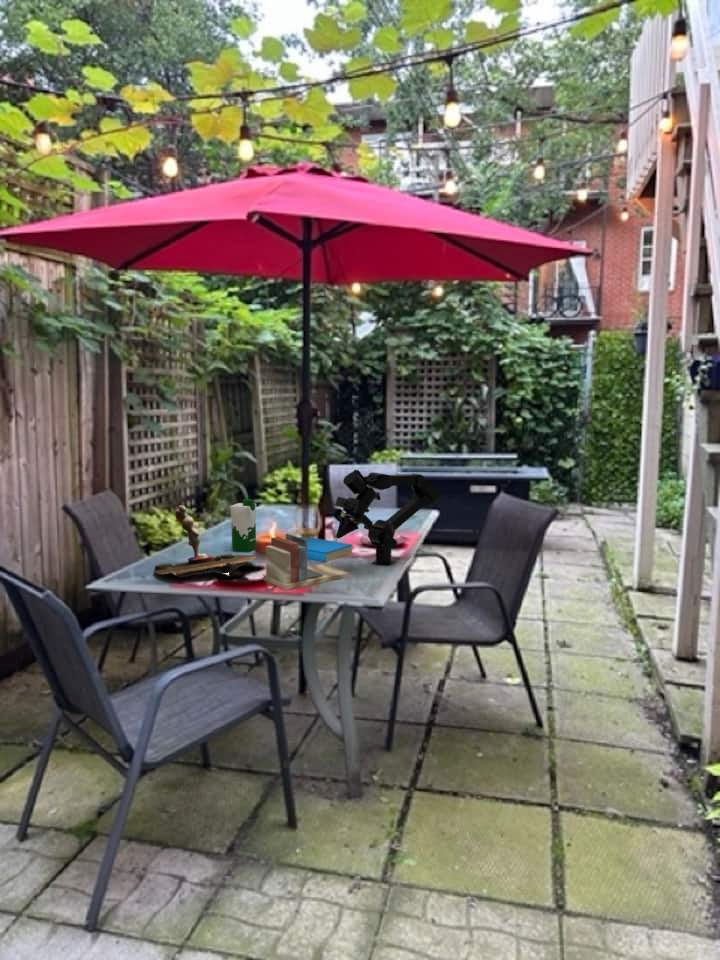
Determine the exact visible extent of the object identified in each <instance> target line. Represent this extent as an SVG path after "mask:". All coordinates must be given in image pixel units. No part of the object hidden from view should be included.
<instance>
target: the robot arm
mask: <svg viewBox="0 0 720 960" xmlns="http://www.w3.org/2000/svg"><path fill="white" fill-rule="evenodd" d="M342 483H343V484H344V485H345V486H346V487H347V489H349V491H351V493H352V494H353V495H356V497H351V496H349V497H348V498H345V497H342V496H337V498H336V501H335V503H334V506H336V507H332V508H331V509H330V511H329V514H330V515H331V516H332V517H333V518H334V519H335V520H336V521H337V522H338V528H337V531H336V534H335V538H336V539H337V540H339V539H341V538H342V537H345V536H346V535H348V534H350V533H352V532H354V531H356V530H359V529H360V527H359V526H360V525H361V524H362V525H363V529H364V530H367V531H368V533H367V537H368V539H369V541H370V543H371V544H370V545H372V546H375V560H374V561H372V563H371V564H373V565H383V566H390V565H391V564H393V563H394V562H395V559H392V550H393V549H395V548H397V544H398V541H397V540H396V539H395V538H394V536H395V533H396V531H397V530H398V529H399V528H400V527H401V526H402V525H404V523H406V522H407V521H408V520H410V518H412V517H413V516H414V515H415V514H416V513H418V512H419V511H420V510H421V509H423V508H426V507H429V506H432V505H433V504H435V503H437V502H438V500H439V491H438V489H437V488H435V487H434V485H433V484H431V482H429V481H428V480H426V478H425V477H424V476H423V475H422V474H419V473H409V474H407V473H405V474H386V473H381V472H380V473H379V472H373V471H372V472H370V473H368V475H367V476H364V475H363V474H362V473H361V471H360V470H359V469H354V470H353V471H352V472H350V473H348V474H347V475H345V476H344V478H343V481H342ZM395 486H396V487H397V486H411V489H412V492H413V495H412V498H411V499H410V500H409V501H408V502H406V503H405V504H404V505H403V506H402V507H401V508H399V509H398V510H397V511H396V512H394V514H392V515H391V516H390V517H389V518H387V519H386V520H383V519H378V520H376V521H375V522H374V523H373V521H372V520H371V519H370V518H369V517H368V516H367V515H366V514H365V513H369V512H370V509H369V508H370V506H371V505H372V503H373V502H374V500H376V501H381V495H380V494H381V492H378V491H375V490H379V491H383V490H387V489H390V488H392V487H395ZM339 507H340V508H339ZM341 508H342V509H341Z"/></svg>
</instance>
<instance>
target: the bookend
mask: <svg viewBox="0 0 720 960" xmlns="http://www.w3.org/2000/svg"><path fill="white" fill-rule="evenodd" d="M300 537H301V536H297V535H293V534H289V533H285V539H286V540H289V541H292V542H295V543H298V545H301V546H303V547H305V552H306V579H310V578H315V577H320V576H323V574H321V573H318V572H316V571H313V570H311V569H308V568H307V567H308V559H307V540H306V539H303V538H300Z"/></svg>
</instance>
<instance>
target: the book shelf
mask: <svg viewBox="0 0 720 960" xmlns="http://www.w3.org/2000/svg"><path fill="white" fill-rule="evenodd" d="M270 541H271V542H270V544H271V545H266V546H265V565H266V567H265V572H266V574H263V575H262V580H263V581H265V582H267V583H269V584H272V585H275V586H277V587H279V588H280V589H283V590H285V591H289V590H293V589H299V588H303V587H307V586H313V585H318V584H323V583H327V582H331V581H336V580H341V579H347V578H349V577H350V572H348V571H345V570H342V569H340V568H337V567H334V566H331V565H329V564H326V563H321V564H315V565H310V566H307V568H308V569H311V570H313V571H316V572H318V573H321V574H323V576H320V577H315V578H310V579H306V552H305V547H303V546H301V545H298V543H295V542H292V541H289V540H286V538H283V537H280V536H275V537H271V538H270ZM263 576H264V577H263Z"/></svg>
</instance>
